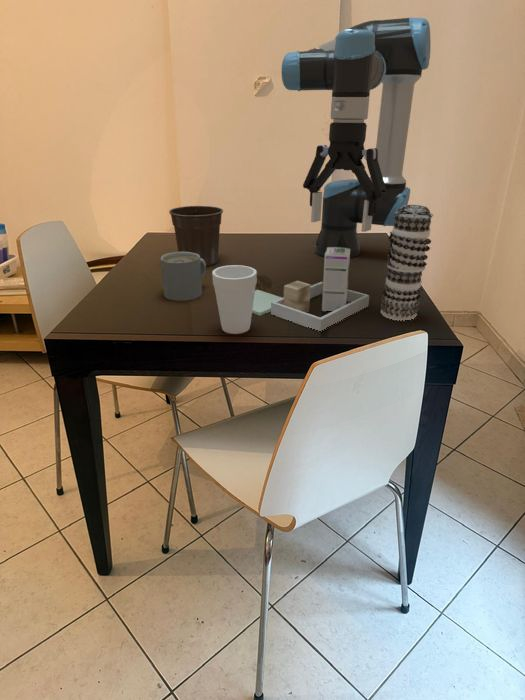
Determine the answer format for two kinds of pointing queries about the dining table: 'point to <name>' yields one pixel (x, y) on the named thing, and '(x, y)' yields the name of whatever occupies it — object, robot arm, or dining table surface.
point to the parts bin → (321, 323)
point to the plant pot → (198, 230)
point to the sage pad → (263, 302)
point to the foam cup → (235, 296)
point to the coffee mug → (182, 275)
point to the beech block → (297, 296)
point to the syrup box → (335, 278)
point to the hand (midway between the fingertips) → (339, 226)
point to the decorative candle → (406, 262)
